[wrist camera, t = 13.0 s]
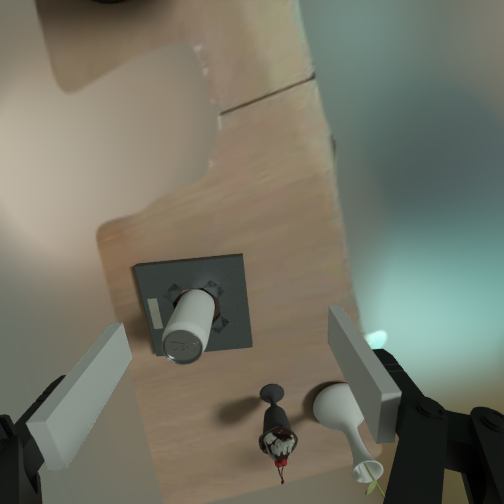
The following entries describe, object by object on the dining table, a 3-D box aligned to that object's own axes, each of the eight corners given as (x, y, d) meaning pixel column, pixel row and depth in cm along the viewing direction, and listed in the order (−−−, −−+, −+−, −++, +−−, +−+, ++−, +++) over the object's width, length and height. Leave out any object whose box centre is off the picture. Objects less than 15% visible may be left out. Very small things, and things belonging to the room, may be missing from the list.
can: (214, 320, 48) (205, 367, 36) (179, 319, 47) (159, 366, 36) (215, 289, 46) (206, 328, 34) (178, 287, 45) (156, 326, 34)
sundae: (268, 410, 54) (277, 495, 40) (250, 391, 53) (252, 472, 38) (294, 395, 53) (312, 477, 39) (276, 375, 52) (288, 452, 37)
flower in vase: (301, 392, 53) (348, 571, 29) (351, 368, 52) (443, 536, 28) (327, 431, 57) (388, 619, 33) (375, 410, 55) (474, 591, 32)
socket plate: (137, 263, 44) (133, 267, 42) (242, 253, 44) (242, 256, 42) (159, 351, 49) (156, 357, 48) (252, 342, 49) (252, 347, 48)
